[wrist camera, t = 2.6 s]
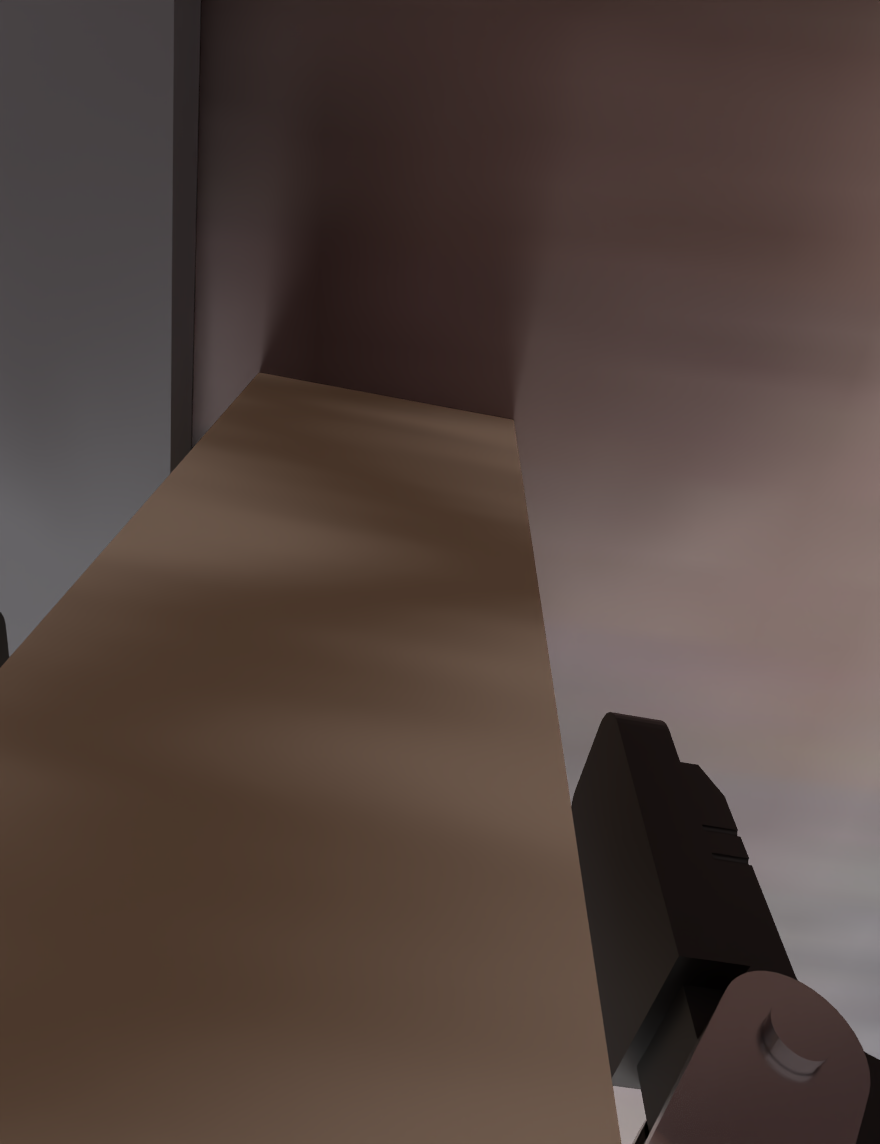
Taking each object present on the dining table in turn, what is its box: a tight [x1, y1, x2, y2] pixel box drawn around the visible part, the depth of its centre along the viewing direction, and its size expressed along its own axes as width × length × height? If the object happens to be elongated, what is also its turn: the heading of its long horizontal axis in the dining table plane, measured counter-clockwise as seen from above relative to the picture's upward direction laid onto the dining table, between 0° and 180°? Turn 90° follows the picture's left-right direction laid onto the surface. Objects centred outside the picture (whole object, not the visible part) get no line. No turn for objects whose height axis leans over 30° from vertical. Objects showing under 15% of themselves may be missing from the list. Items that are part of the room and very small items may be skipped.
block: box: [0, 373, 621, 1144], centre depth 9 cm, size 4×7×11 cm, turn 170°
